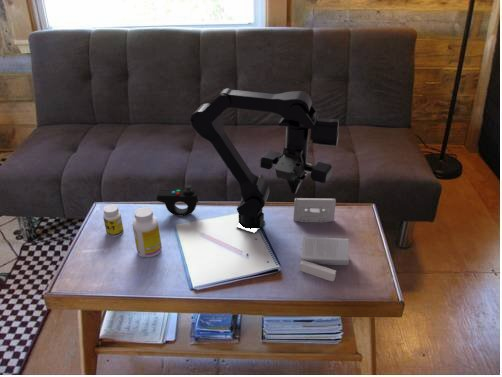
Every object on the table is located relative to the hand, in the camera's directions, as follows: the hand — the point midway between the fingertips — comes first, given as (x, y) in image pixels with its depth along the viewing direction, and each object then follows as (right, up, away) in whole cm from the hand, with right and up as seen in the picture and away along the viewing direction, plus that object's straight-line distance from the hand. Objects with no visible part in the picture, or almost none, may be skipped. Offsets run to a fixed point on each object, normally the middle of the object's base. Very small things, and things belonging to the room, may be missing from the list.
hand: (294, 193), depth 127 cm
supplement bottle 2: (-40, -16, 0) cm, 43 cm away
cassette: (+7, -8, +12) cm, 16 cm away
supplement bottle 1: (-51, -11, +7) cm, 53 cm away
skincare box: (+1, -15, -5) cm, 16 cm away
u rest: (+7, -18, -5) cm, 20 cm away
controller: (-34, -7, +15) cm, 37 cm away
